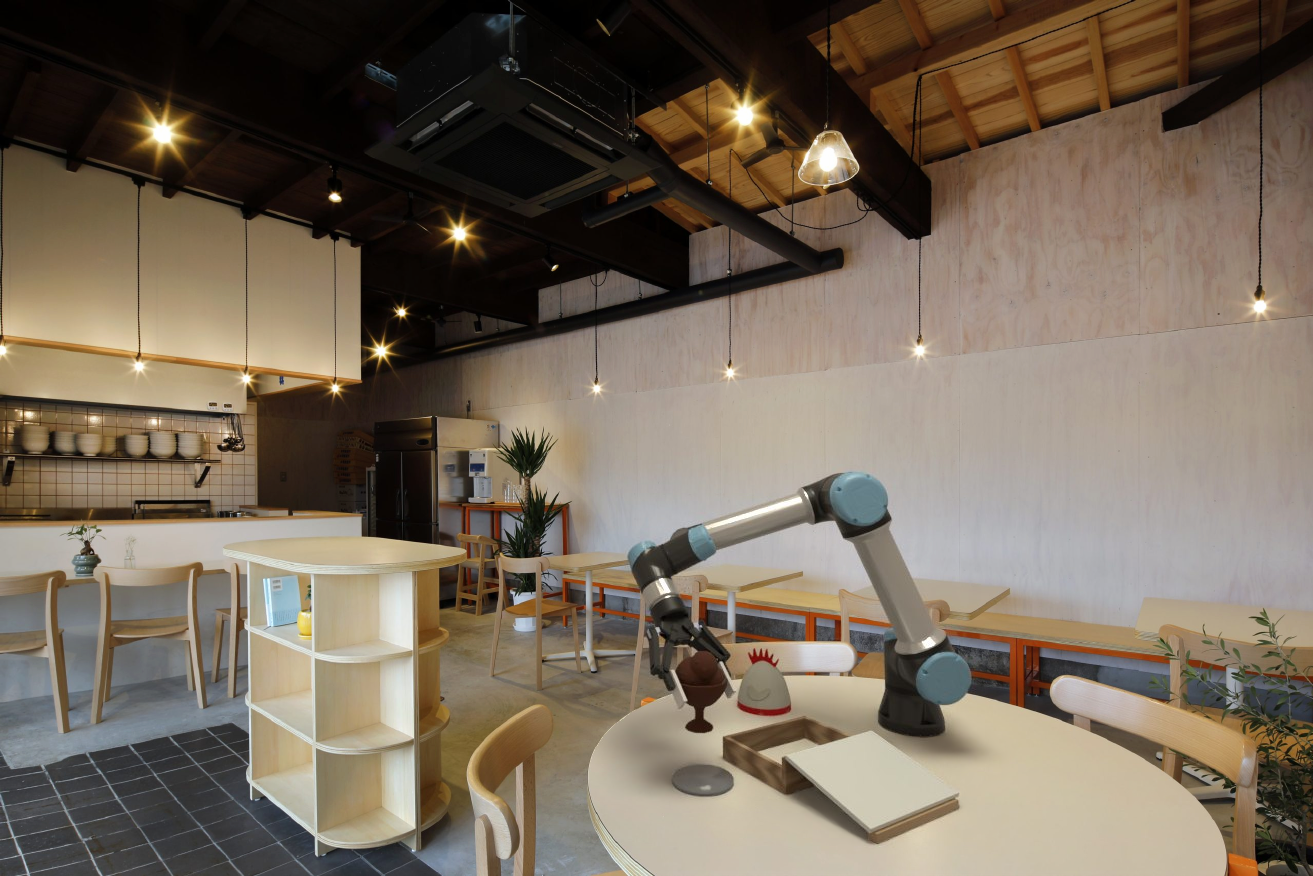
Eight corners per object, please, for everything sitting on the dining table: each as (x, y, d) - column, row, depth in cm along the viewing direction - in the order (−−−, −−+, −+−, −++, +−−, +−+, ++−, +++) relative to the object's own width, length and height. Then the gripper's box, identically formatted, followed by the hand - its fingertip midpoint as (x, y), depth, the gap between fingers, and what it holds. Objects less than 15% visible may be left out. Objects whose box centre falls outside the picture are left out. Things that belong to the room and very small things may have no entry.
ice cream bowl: (731, 721, 130) (732, 646, 131) (718, 742, 119) (719, 659, 120) (681, 715, 133) (682, 641, 134) (664, 734, 123) (665, 654, 124)
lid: (962, 807, 116) (960, 765, 116) (873, 845, 103) (872, 799, 104) (871, 766, 133) (870, 730, 133) (785, 795, 120) (785, 755, 121)
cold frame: (871, 766, 133) (871, 733, 133) (785, 795, 120) (785, 759, 121) (804, 736, 149) (804, 707, 149) (722, 758, 136) (722, 726, 137)
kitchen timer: (745, 695, 178) (745, 640, 179) (795, 702, 172) (795, 645, 174) (731, 711, 165) (731, 651, 166) (784, 719, 160) (784, 657, 161)
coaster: (744, 778, 127) (744, 774, 127) (715, 802, 117) (715, 798, 117) (692, 763, 134) (692, 759, 134) (660, 785, 124) (660, 781, 124)
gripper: (702, 610, 147) (746, 699, 133) (611, 621, 134) (648, 720, 120) (716, 590, 143) (763, 680, 128) (623, 599, 130) (664, 699, 116)
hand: (708, 699), depth 124 cm, fingers closed on ice cream bowl, 11 cm apart
